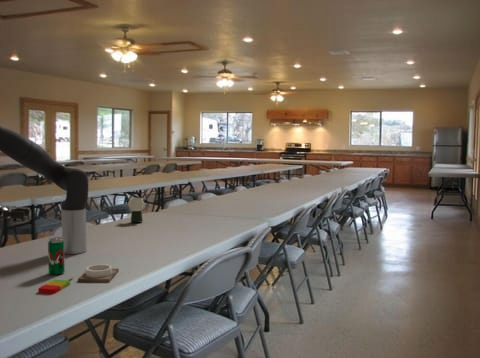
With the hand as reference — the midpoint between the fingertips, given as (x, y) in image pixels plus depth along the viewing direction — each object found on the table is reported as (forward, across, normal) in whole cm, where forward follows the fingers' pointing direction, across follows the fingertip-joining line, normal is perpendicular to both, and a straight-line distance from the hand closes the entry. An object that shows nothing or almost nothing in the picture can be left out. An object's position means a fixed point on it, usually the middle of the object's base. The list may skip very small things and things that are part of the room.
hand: (26, 213), depth 154 cm
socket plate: (+26, -6, +17) cm, 31 cm away
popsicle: (+14, -14, +20) cm, 28 cm away
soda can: (+12, 0, +19) cm, 22 cm away
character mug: (+40, +90, +10) cm, 99 cm away
